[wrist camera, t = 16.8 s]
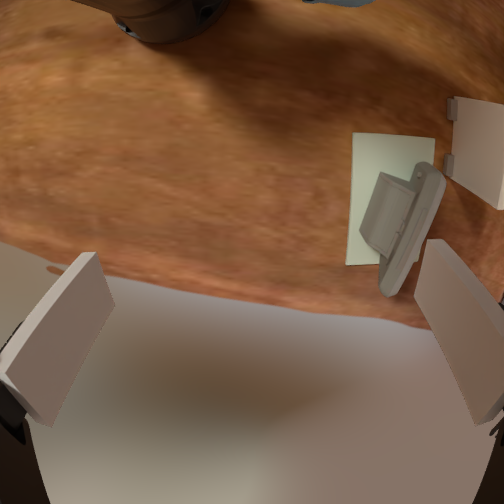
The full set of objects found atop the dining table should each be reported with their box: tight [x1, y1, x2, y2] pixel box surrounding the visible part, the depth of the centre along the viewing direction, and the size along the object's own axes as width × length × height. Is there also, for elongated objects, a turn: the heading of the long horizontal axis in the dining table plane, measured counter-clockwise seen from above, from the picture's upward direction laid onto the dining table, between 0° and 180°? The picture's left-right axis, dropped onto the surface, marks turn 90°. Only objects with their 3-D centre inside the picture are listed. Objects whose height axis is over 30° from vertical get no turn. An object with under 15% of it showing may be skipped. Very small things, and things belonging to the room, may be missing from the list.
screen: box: [443, 96, 504, 210], centre depth 28 cm, size 12×4×12 cm, turn 4°
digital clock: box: [359, 161, 446, 297], centre depth 34 cm, size 16×9×11 cm, turn 156°
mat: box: [345, 132, 435, 265], centre depth 39 cm, size 19×12×1 cm, turn 4°
